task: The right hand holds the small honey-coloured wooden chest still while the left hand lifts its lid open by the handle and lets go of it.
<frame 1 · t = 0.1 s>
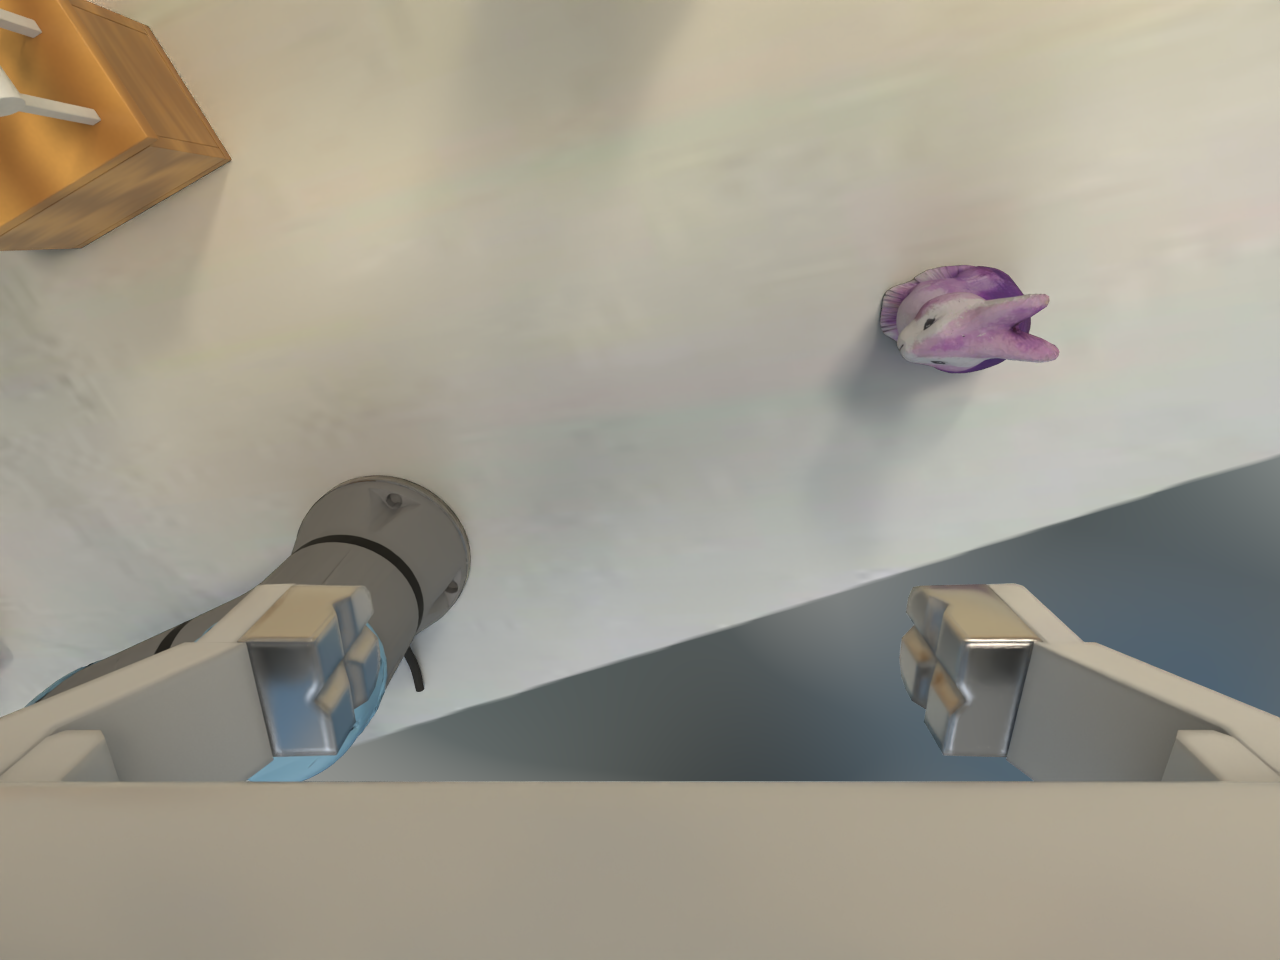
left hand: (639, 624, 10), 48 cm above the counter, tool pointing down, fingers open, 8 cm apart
figurine: (931, 318, 56), on the counter
chest: (113, 142, 51), on the counter
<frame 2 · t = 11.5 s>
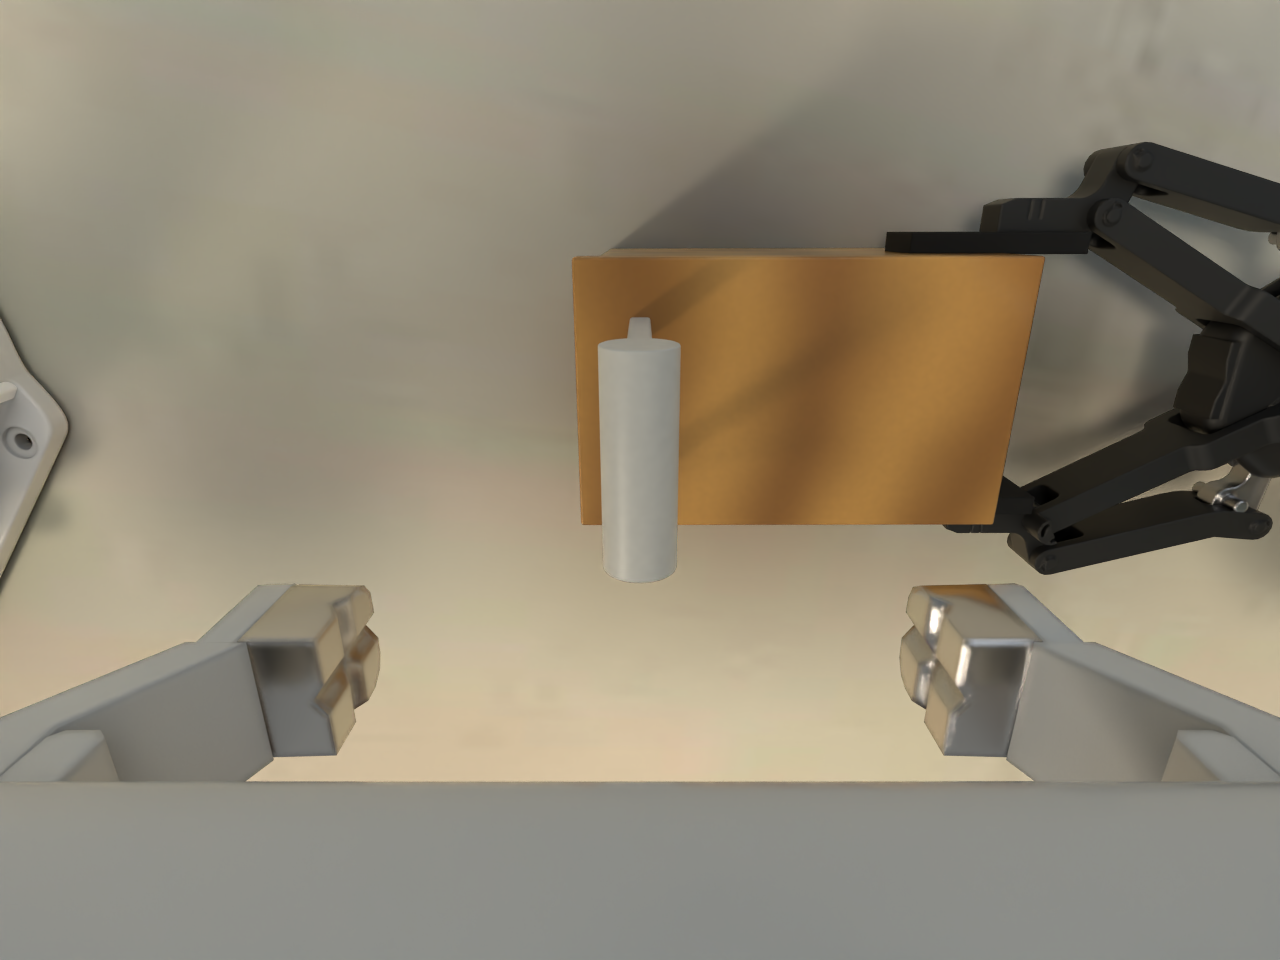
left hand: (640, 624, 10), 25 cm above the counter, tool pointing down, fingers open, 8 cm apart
right hand: (881, 376, 28), fingers closed on chest, 10 cm apart
lid: (820, 425, 21), point 14 cm above the counter, hinge at 0.0°
chest: (760, 350, 34), on the counter, touching right hand
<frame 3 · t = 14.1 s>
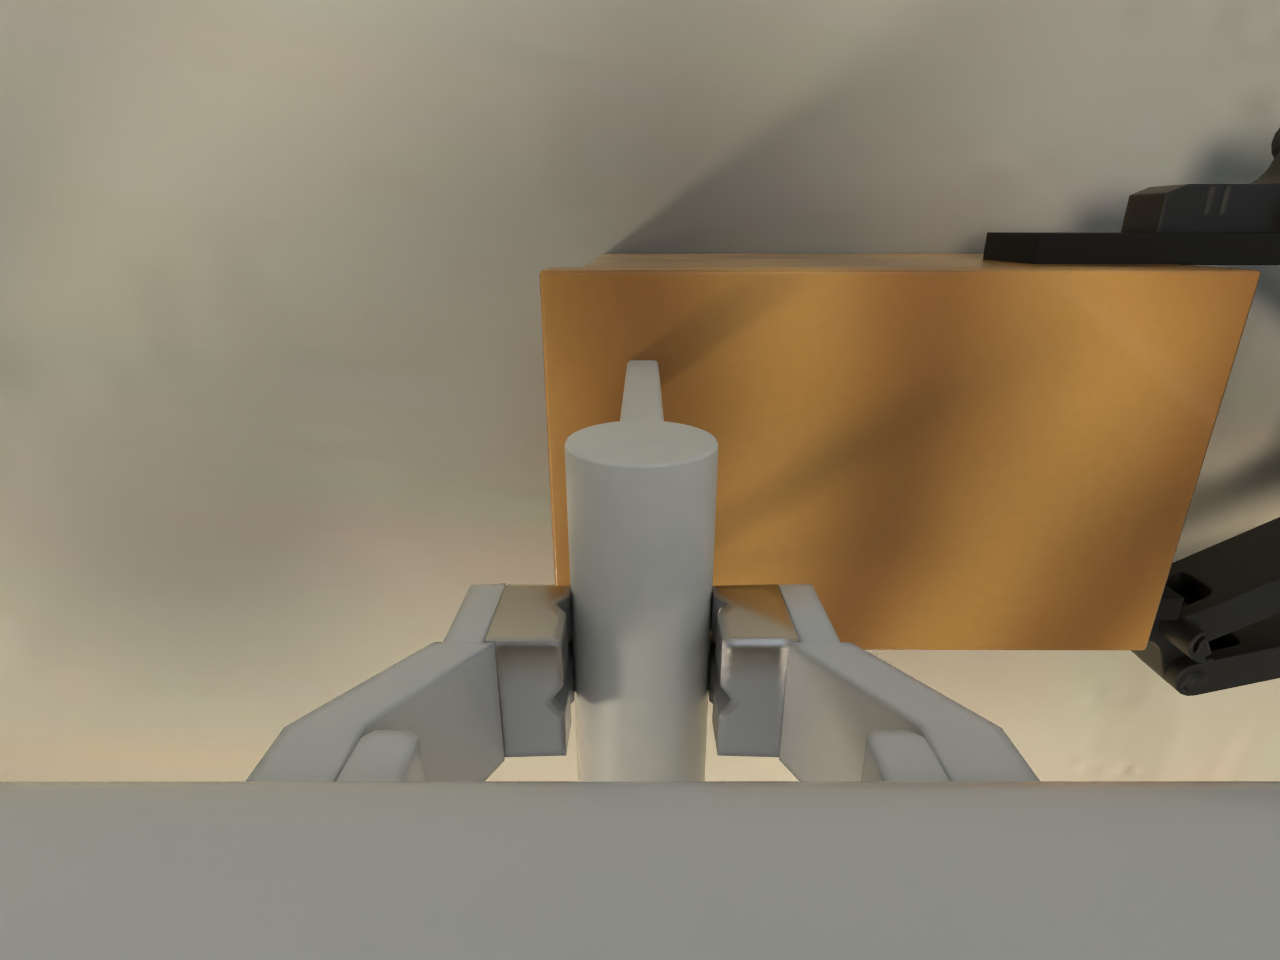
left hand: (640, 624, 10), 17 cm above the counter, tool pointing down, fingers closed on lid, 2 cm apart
lid: (926, 538, 13), point 14 cm above the counter, hinge at -0.1°, touching left hand
chest: (798, 385, 26), on the counter, touching right hand
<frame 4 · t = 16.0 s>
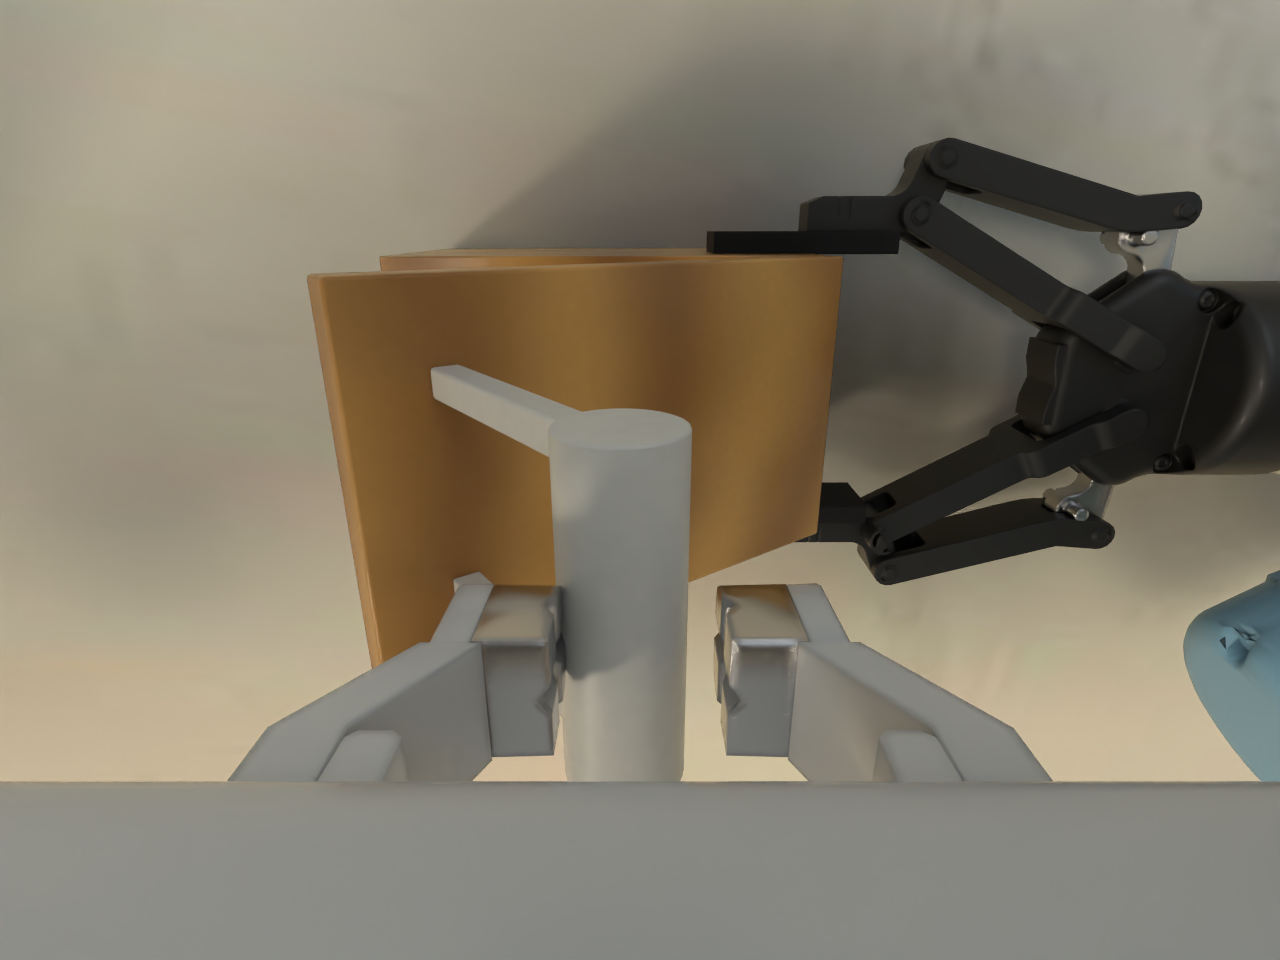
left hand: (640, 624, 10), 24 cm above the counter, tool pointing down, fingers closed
right hand: (705, 381, 27), fingers closed on chest, 10 cm apart
lid: (730, 479, 16), point 18 cm above the counter, hinge at 36.0°, touching left hand
chest: (612, 353, 33), on the counter, touching right hand
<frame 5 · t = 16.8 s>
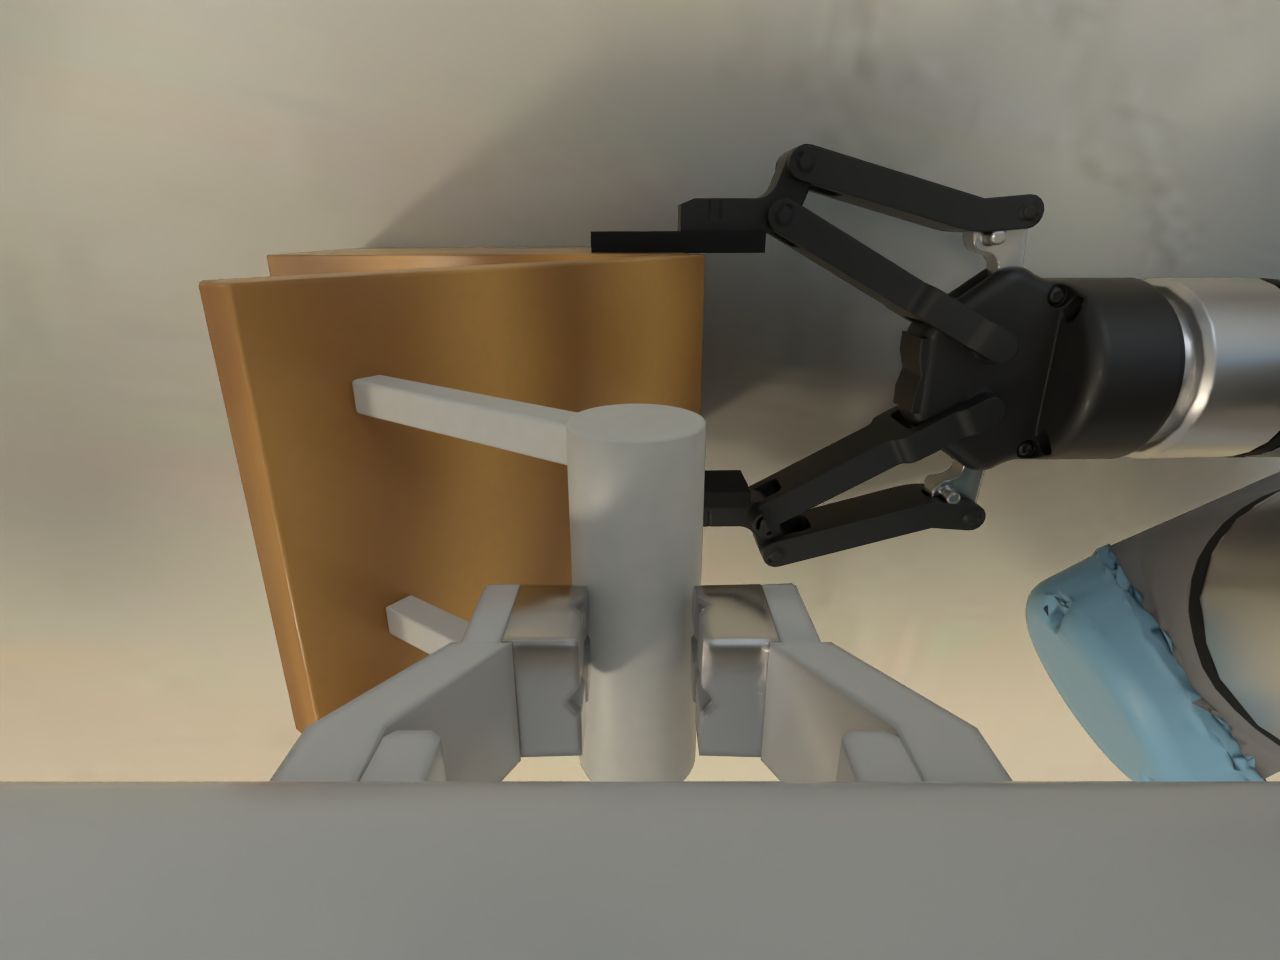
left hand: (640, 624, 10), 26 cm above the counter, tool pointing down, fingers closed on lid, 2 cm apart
right hand: (595, 373, 28), fingers closed on chest, 10 cm apart
lid: (655, 469, 17), point 18 cm above the counter, hinge at 52.7°, touching left hand
chest: (522, 349, 34), on the counter, touching right hand
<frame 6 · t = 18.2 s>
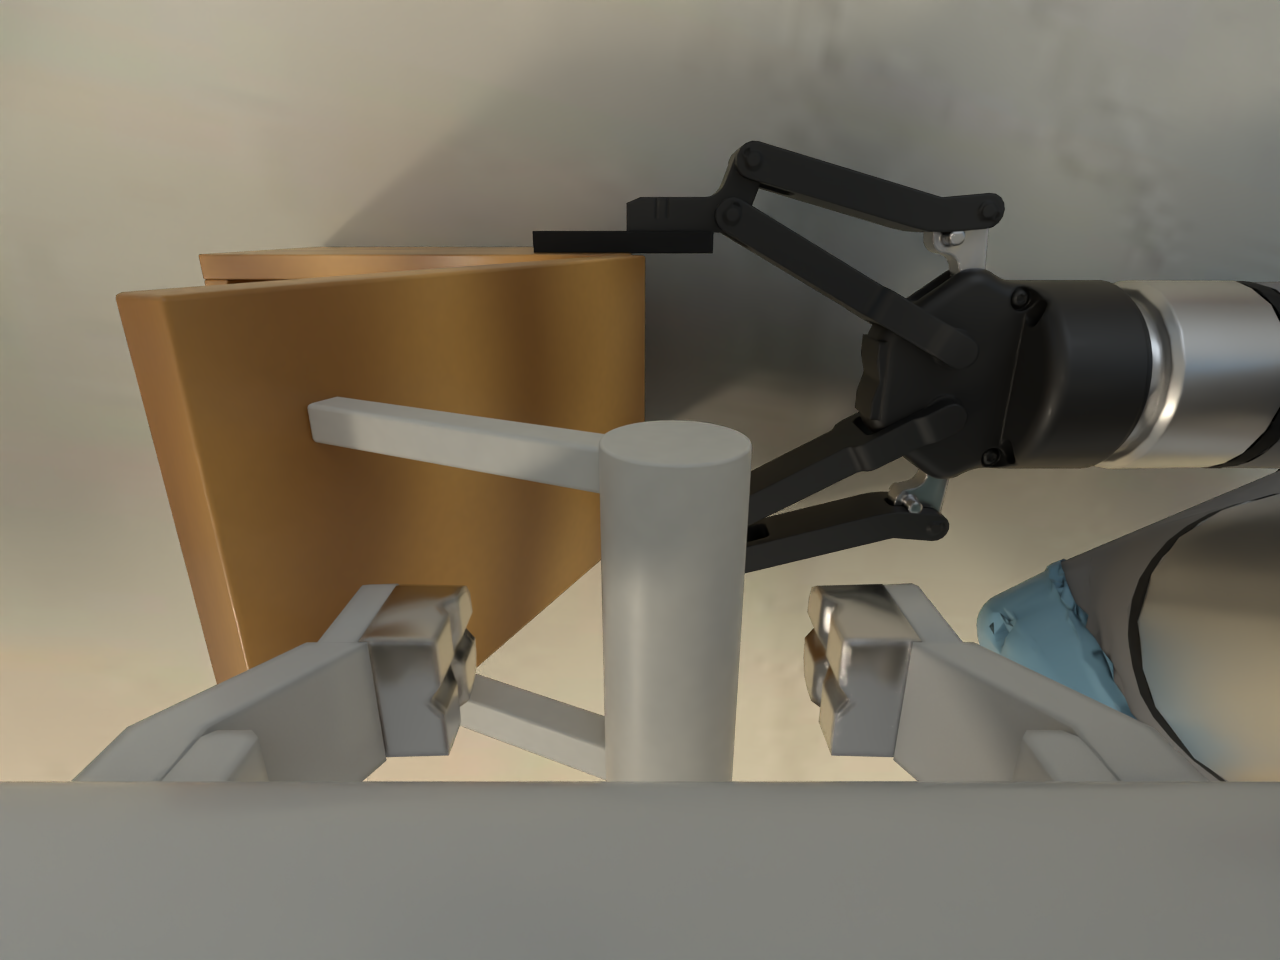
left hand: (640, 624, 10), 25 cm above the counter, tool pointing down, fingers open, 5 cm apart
right hand: (545, 376, 28), fingers closed on chest, 10 cm apart
lid: (631, 482, 16), point 19 cm above the counter, hinge at 64.0°
chest: (482, 350, 33), on the counter, touching right hand
when the right hand's fingers open (6 cm above the counter, at t = 21.8 s): chest stays where it is, on the counter.
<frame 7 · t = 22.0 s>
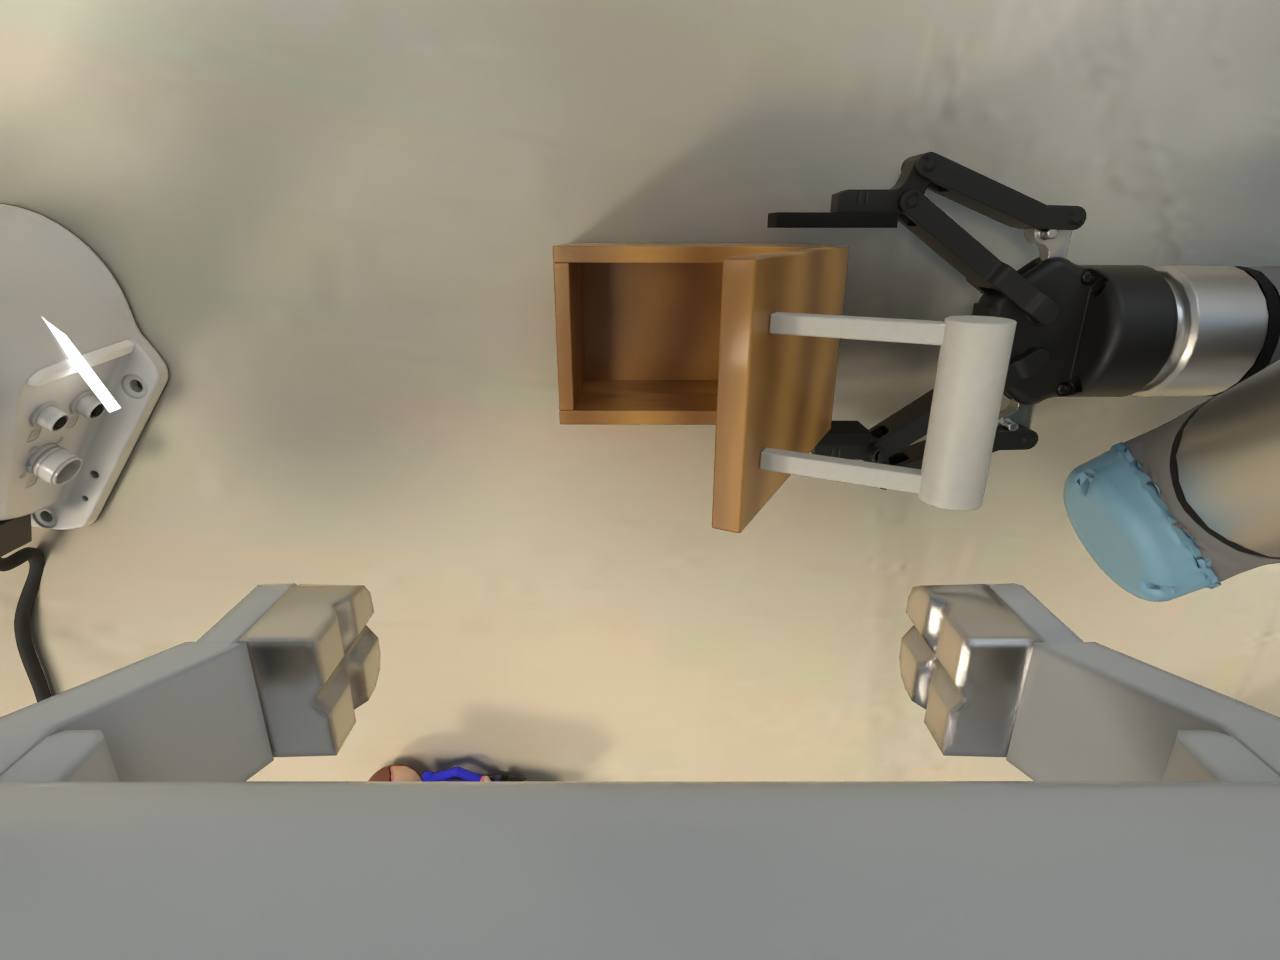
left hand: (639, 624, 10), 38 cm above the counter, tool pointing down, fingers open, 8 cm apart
right hand: (764, 332, 40), fingers open, 11 cm apart
figurine character: (462, 779, 60), on the counter
lid: (881, 374, 28), point 19 cm above the counter, hinge at 63.3°
chest: (681, 318, 46), on the counter
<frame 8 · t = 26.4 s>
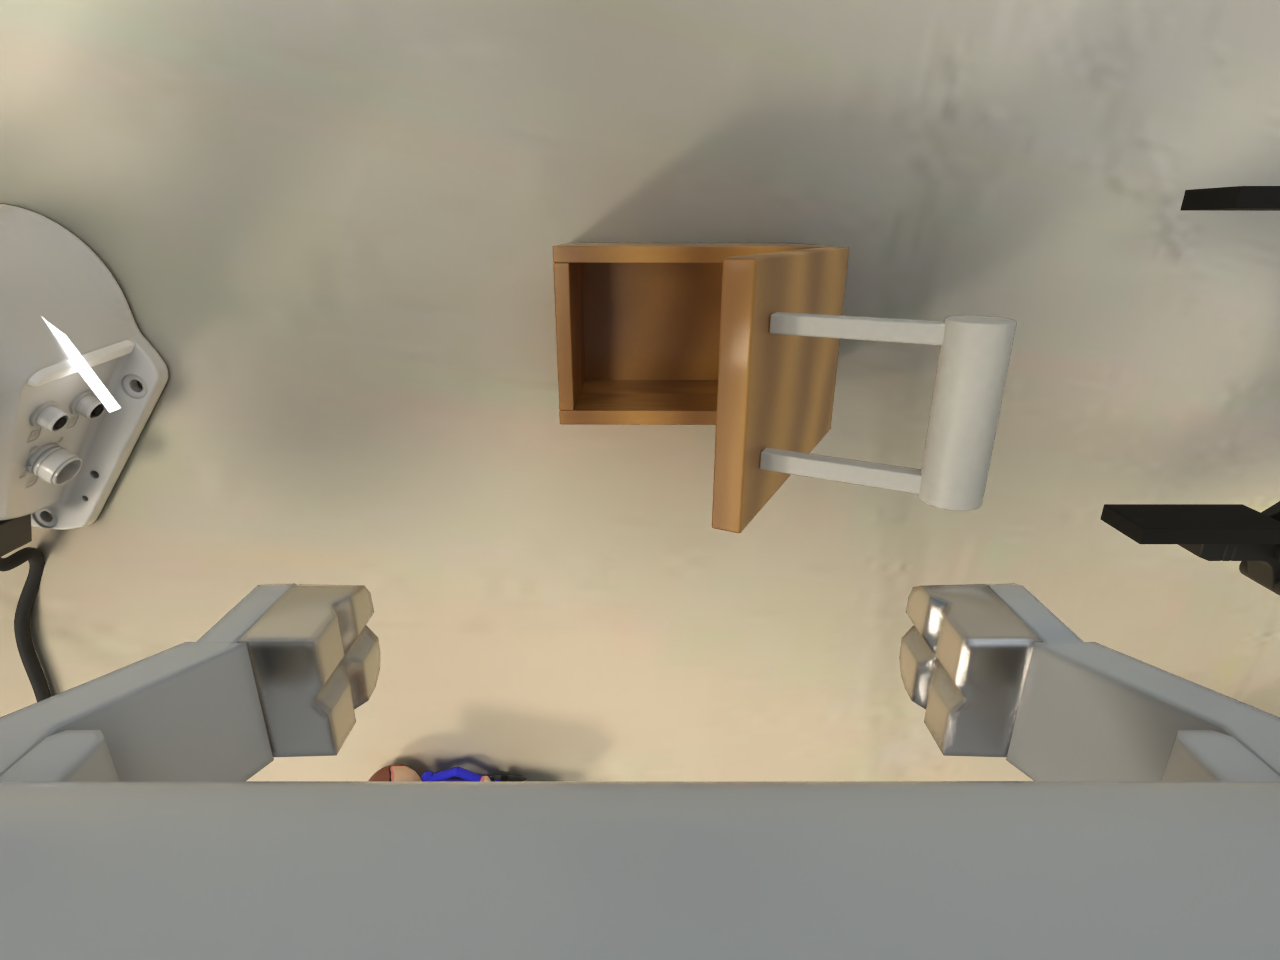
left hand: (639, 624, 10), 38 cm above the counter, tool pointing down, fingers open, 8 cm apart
figurine character: (462, 779, 60), on the counter
lid: (881, 374, 28), point 19 cm above the counter, hinge at 63.3°
chest: (681, 318, 46), on the counter
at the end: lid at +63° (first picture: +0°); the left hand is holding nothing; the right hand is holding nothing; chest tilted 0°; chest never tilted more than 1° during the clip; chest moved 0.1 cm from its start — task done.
